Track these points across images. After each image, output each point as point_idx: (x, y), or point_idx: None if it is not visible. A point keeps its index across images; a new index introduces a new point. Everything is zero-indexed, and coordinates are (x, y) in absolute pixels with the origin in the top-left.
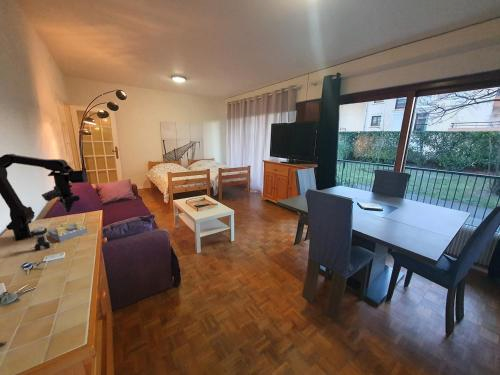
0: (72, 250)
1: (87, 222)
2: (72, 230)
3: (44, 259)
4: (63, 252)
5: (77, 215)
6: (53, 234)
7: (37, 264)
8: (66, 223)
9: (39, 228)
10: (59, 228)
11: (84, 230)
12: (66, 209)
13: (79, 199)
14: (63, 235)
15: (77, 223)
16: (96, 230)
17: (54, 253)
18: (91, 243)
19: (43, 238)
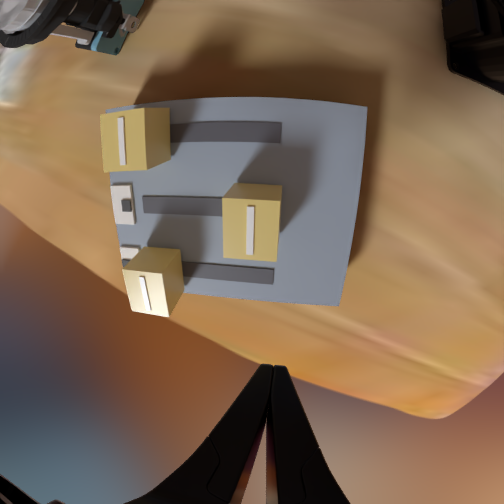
0: (7, 131)
1: (358, 354)
2: (153, 215)
3: None
4: (14, 100)
5: (500, 361)
6: (224, 97)
7: None
8: (227, 237)
9: (8, 2)
10: (119, 137)
11: None
12: (233, 404)
13: (5, 488)
14: None
15: (132, 280)
16: None
17: (30, 69)
18: (16, 206)
19: (68, 23)
